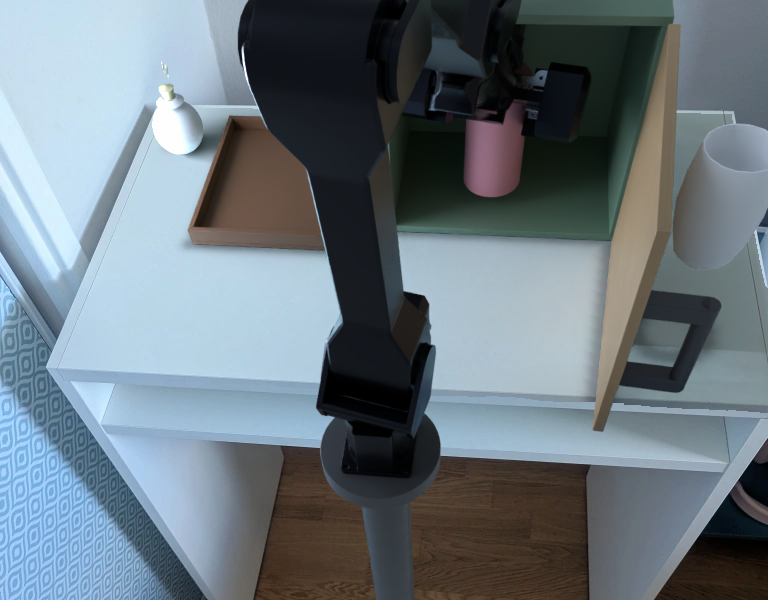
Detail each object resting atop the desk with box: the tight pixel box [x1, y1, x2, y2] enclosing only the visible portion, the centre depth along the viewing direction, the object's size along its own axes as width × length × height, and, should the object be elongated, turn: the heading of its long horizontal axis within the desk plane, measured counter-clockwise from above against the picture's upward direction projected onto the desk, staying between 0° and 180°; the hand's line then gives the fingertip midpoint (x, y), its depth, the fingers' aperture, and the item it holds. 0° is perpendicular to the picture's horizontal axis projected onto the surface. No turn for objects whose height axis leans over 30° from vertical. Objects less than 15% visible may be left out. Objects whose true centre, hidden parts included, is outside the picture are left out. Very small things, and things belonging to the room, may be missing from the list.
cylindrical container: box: [464, 63, 532, 197], centre depth 82 cm, size 6×6×12 cm
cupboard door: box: [592, 23, 722, 433], centre depth 67 cm, size 7×26×23 cm, turn 168°
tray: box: [187, 114, 325, 251], centre depth 91 cm, size 21×17×2 cm
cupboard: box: [388, 0, 675, 242], centre depth 80 cm, size 18×26×24 cm
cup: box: [672, 122, 768, 271], centre depth 68 cm, size 7×7×21 cm
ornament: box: [152, 61, 204, 155], centre depth 92 cm, size 6×7×10 cm
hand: (498, 113), depth 81 cm, fingers closed on cylindrical container, 6 cm apart
